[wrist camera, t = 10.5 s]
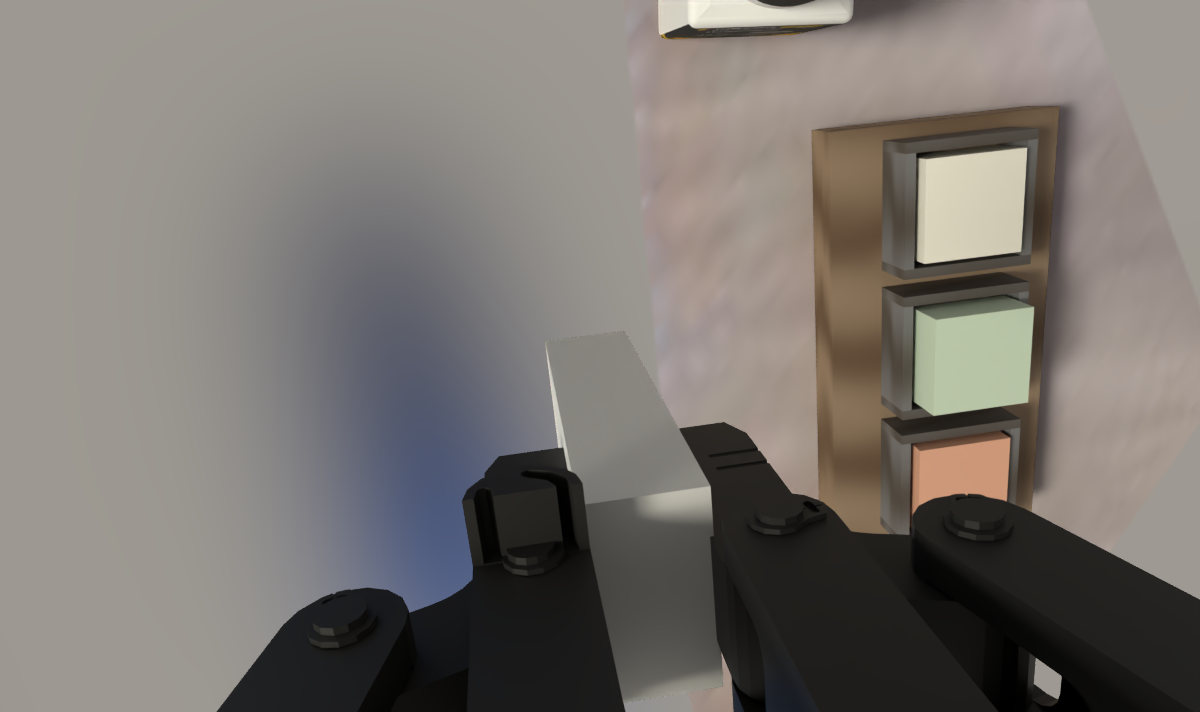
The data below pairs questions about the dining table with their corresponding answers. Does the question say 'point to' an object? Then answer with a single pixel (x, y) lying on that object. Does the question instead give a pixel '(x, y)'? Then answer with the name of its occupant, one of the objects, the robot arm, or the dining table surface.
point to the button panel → (911, 304)
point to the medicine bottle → (748, 17)
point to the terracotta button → (959, 467)
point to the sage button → (971, 354)
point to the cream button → (969, 203)
